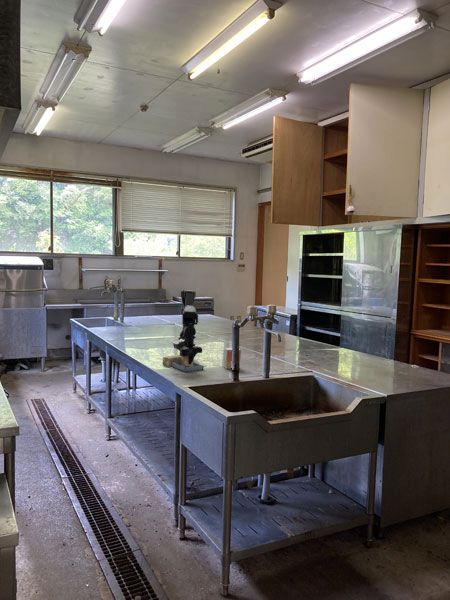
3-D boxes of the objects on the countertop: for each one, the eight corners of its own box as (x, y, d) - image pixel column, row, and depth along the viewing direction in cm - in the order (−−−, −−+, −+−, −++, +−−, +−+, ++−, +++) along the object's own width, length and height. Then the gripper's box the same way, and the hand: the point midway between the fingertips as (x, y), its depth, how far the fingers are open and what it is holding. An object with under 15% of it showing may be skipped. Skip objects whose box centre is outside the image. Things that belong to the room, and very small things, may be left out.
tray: (170, 366, 250) (171, 362, 249) (189, 364, 257) (189, 360, 256) (184, 372, 239) (184, 367, 239) (203, 369, 246) (203, 365, 246)
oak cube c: (162, 365, 252) (163, 356, 252) (168, 363, 255) (168, 355, 255) (168, 366, 249) (169, 358, 249) (174, 365, 253) (174, 357, 252)
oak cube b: (171, 363, 256) (171, 355, 256) (178, 363, 259) (179, 355, 258) (174, 365, 253) (175, 357, 252) (182, 365, 255) (182, 356, 255)
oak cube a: (181, 364, 248) (181, 356, 248) (188, 363, 251) (188, 355, 250) (185, 366, 245) (186, 358, 244) (193, 365, 247) (193, 357, 247)
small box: (225, 369, 251) (226, 349, 250) (223, 366, 256) (224, 347, 255) (240, 368, 253) (241, 349, 252) (237, 366, 258) (238, 347, 258)
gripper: (166, 332, 249) (165, 361, 250) (185, 338, 234) (183, 368, 235) (184, 331, 256) (182, 359, 257) (203, 336, 241) (202, 366, 242)
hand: (187, 363), depth 248 cm, fingers closed on oak cube a, 4 cm apart
